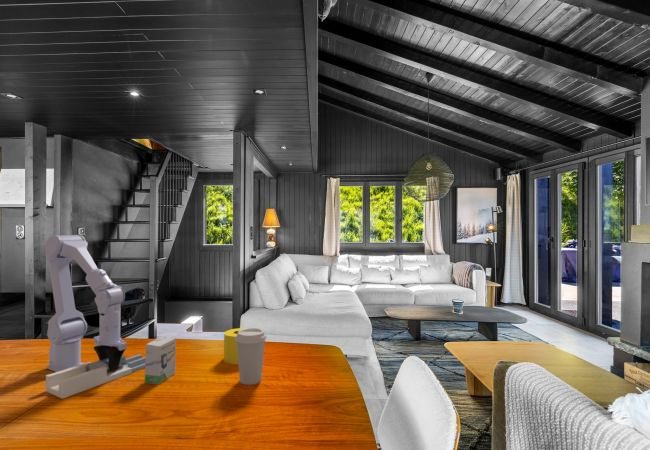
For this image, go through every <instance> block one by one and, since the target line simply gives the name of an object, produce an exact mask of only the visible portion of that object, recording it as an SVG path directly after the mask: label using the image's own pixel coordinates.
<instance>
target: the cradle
mask: <svg viewBox="0 0 650 450" xmlns="http://www.w3.org/2000/svg"><path fill="white" fill-rule="evenodd" d="M145 360H146V356H144V357H143V354H141V353H140V354H139V353H138V354H137V355H133V356H130V357H128V358H126V364H125V366H126V367H129V368H132V373H134V372H137V371H139V370H142V369H144V368H145Z"/></svg>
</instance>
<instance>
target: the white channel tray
mask: <svg viewBox="0 0 650 450" xmlns="http://www.w3.org/2000/svg"><path fill="white" fill-rule="evenodd" d="M84 363H85V364H81V365H78V366H75V367H72V368H68V369H65V370H62V371H59V372H55V371H54V372H53V373H49V374H45V392H47V393H49V394H51V395H53V396H56V397H58V398H60V399H62V400H63V399H66V398H68V397H70V396H73V395H74V396H75V395H76V394H78V393H81V392H84V391H87V390H90V389H92V388H95V387H99V386H100V385H103V384H106V383H108V382H112V381H114V380H117V379H119V378H122V377H126V376H127V375H130V374H132V373H133V372H132V368H129V367H126V366H123V367H120V368H118V369H117V370H115V371H108V372H107V367H104V366H103V367H100V368H97V369H94V370H91V371H88V372H86V366H87V364H90V363H93V362H92V361H87V362H84Z"/></svg>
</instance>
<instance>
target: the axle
mask: <svg viewBox="0 0 650 450" xmlns="http://www.w3.org/2000/svg"><path fill="white" fill-rule="evenodd" d="M126 359H127V358H126V356H125V355H124V354H123V355H122V357H121V360H120V363H119V366H118V368H120V367H123V366H125V364H126ZM103 366H104V367H107V372H108V371H110V369H109V361H108V358H106V359H103V360H99V359H98V360H97V361H94V362H92V363H90V364H87V366H86V372H88V371H91V370H94V369H97V368H100V367H103Z"/></svg>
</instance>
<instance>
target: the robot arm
mask: <svg viewBox="0 0 650 450" xmlns="http://www.w3.org/2000/svg"><path fill="white" fill-rule="evenodd" d="M88 243H89V242H88V241H86V238H85V237H84V236H83V235H82V234H67V235H63V234H62V235H61V234H60V235H57V234H55V235H54V234H52V235H50V236H49V237H48V238H47V239H46V241H45V242H44V248H45V249H44V251H45V255H46V261H47V263H48V267H49V273H50V281H51V287H52V294H53V301H54V308H55V314H54V315H53V316H52V317H51V318H50V319H49V320H48V321H47V324H48V326H47V327H48V328H47V331H46V332H47V333H46V334H47V339H48V340H49V341H50V342H51V344H50V346H49V349H48V351H49V352H48V353H49V356H48V360H49V361H48V362H49V363H48V365H47V366H45V369H48V370H50V371H53V372H54V373H55V372H59V371H62V370H65V369H68V368H72V367H75V366H78V365H81V364H85V363H86V362H81V360H82V359H81V356H82V355H81V348H82V346H81V345H82V339H83V338H84V336H85V334H86V333H87V330H88V323H87V321H86V320H85V316H84V313H83V312H81V311H79V310H77V309H76V304H75V298H74V297H75V296H74V292H73V290H74V289H73V286H72V285H73V284H72V278H71V270H70V264H71V262H72V260H74V261H75V262H76V263H77V264H78V266H79V267H80V268H81V269H82V271H83V272H84V273H85V274H86V276H85V281H86V283H87V285H88V286H89V287H90V288H91V290H92V291H93V294H95V297H94V302H95V305H96V306H97V312H98V313H99V326H98V327H99V332H98V333H99V334H98V335H97V336H94V337H93V343H94V344H95V346H93V351H95V353H96V354H97V357H98V361H99V360H103V359H106V358H108V361H109V369H110V371H115V370H117V369H118V366H119V363H120V360H121V357H122V355H124V353H125V351H126V350H127V349H128V347H127V346H128V345H127V342H126V341H124V340H123V339H122V337H121V312H122V311H121V310H122V309H121V305H122V303H124V302H125V299H126V293H125V291H124V289H123V287H122V286H120V285H117V284H115V283H114V282H113V281H112V280H111V278H110V277H109V275H108V274H107V271H106V270H104V269H102V268H98V266H97V265H96V263H95V261H94V259H93V257H92V256H91V254H90V252H89V251H88V246H89V244H88Z"/></svg>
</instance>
